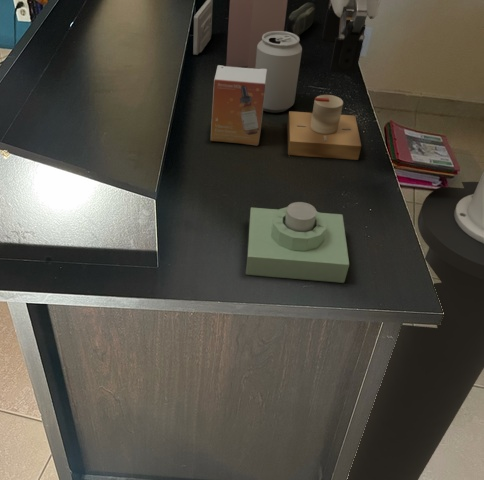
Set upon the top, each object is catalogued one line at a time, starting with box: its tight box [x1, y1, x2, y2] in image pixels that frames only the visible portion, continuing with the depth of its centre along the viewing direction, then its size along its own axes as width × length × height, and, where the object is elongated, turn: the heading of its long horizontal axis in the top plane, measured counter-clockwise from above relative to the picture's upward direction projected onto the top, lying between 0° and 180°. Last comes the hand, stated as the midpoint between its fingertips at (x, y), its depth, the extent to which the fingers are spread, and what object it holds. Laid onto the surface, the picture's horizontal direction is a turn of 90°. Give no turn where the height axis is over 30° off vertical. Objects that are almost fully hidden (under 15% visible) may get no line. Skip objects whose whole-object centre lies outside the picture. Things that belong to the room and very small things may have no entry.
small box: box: [209, 64, 267, 147], centre depth 92 cm, size 8×6×10 cm
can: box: [255, 30, 303, 114], centre depth 99 cm, size 8×8×12 cm
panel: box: [286, 110, 362, 161], centre depth 94 cm, size 11×10×3 cm
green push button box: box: [245, 206, 350, 284], centre depth 72 cm, size 12×10×5 cm
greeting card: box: [225, 0, 289, 69], centre depth 109 cm, size 11×7×15 cm, turn 105°
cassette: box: [192, 0, 214, 56], centre depth 120 cm, size 12×2×8 cm, turn 164°
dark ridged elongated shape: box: [285, 2, 316, 37], centre depth 127 cm, size 5×3×15 cm
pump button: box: [285, 201, 317, 232], centre depth 70 cm, size 4×4×2 cm
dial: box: [310, 94, 344, 134], centre depth 91 cm, size 4×4×5 cm
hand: (338, 55), depth 75 cm, fingers open, 9 cm apart
